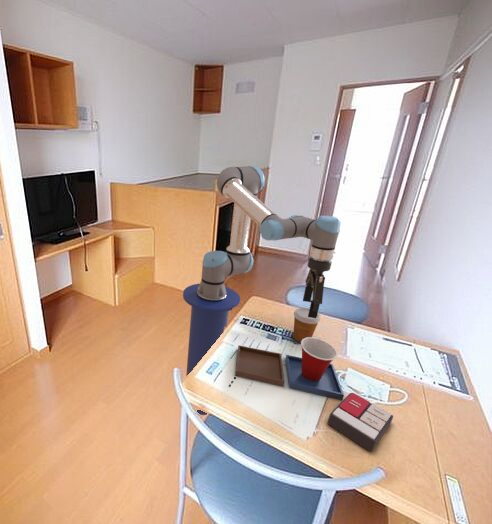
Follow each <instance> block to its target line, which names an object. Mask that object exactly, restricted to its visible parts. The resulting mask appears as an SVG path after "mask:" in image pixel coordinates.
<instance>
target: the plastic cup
mask: <svg viewBox="0 0 492 524" xmlns="http://www.w3.org/2000/svg"><path fill="white" fill-rule="evenodd" d="M300 346H301V358H302V375H303V376H304V377H305V378H306V379H308V380H311V381H319V380H320V379H321V378H322V376H323V374H324V373H325V371H326V369H327V368H328V366H329V364H332V361H333V360H335V359H337V357H338V354H339V353H338V351H337V348H336V347H334V345H332V344H331V343H329V342H328V341H326V340H324V339H321V338H318V337H313V336H312V337H307V338H304V339H302V341H301V342H300ZM333 362H334V361H333Z"/></svg>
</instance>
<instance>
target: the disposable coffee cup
mask: <svg viewBox="0 0 492 524" xmlns="http://www.w3.org/2000/svg"><path fill="white" fill-rule="evenodd" d="M309 309H310V308H307V307H299V308H297V309H295V311H294V312H293V316H294V319H293V335H292V336H293V339H294V341H296V342H298V343H301V341H302V339H304V338H307V337H313V336H314V334H315V331H316V328H317V326H318V324H319V323H320V322H321V316H320V313H319V312H318V313H317V318H310V317H308V314H309Z"/></svg>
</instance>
